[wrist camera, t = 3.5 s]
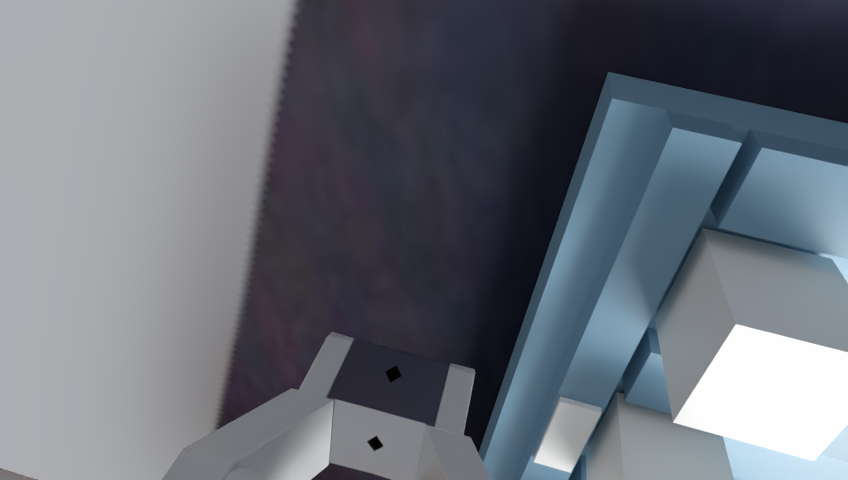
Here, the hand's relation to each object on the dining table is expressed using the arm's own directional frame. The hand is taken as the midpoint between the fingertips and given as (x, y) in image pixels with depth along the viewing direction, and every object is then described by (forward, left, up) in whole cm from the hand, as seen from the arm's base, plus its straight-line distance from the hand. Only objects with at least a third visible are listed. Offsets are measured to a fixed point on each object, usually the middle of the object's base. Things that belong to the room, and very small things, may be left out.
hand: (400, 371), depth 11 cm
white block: (+5, +8, -5) cm, 10 cm away
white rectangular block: (-1, +7, -5) cm, 9 cm away
